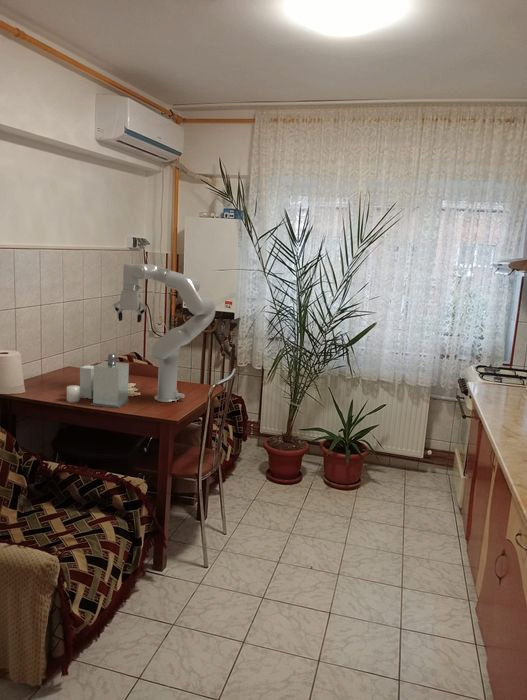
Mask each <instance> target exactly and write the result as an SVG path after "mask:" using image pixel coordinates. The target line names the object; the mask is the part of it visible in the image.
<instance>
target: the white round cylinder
mask: <svg viewBox="0 0 527 700" xmlns="http://www.w3.org/2000/svg"><path fill="white" fill-rule="evenodd" d="M80 401H81V398H80V385H76V384H75V385H74V384H72V385H66V402H67V403H79V402H80Z"/></svg>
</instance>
